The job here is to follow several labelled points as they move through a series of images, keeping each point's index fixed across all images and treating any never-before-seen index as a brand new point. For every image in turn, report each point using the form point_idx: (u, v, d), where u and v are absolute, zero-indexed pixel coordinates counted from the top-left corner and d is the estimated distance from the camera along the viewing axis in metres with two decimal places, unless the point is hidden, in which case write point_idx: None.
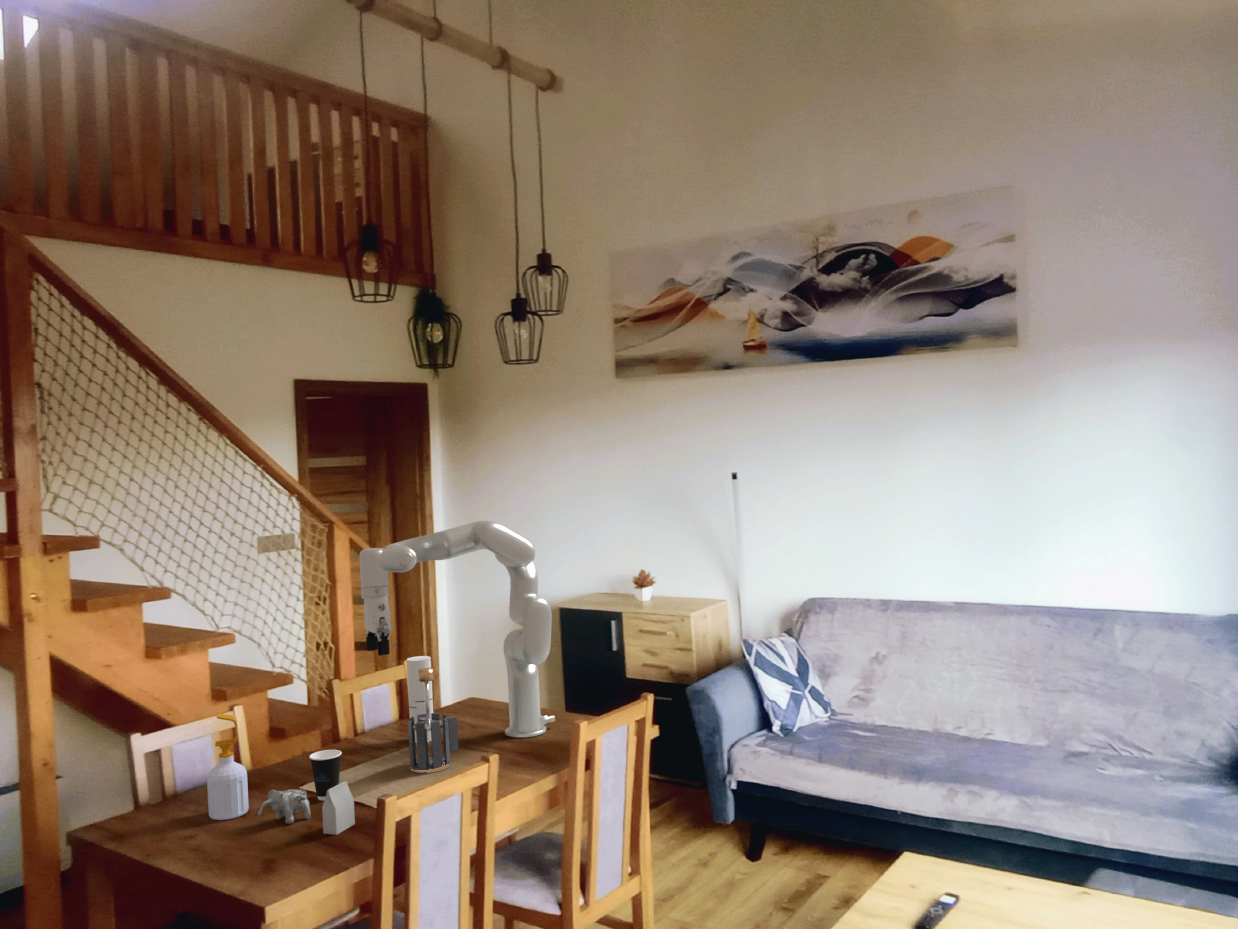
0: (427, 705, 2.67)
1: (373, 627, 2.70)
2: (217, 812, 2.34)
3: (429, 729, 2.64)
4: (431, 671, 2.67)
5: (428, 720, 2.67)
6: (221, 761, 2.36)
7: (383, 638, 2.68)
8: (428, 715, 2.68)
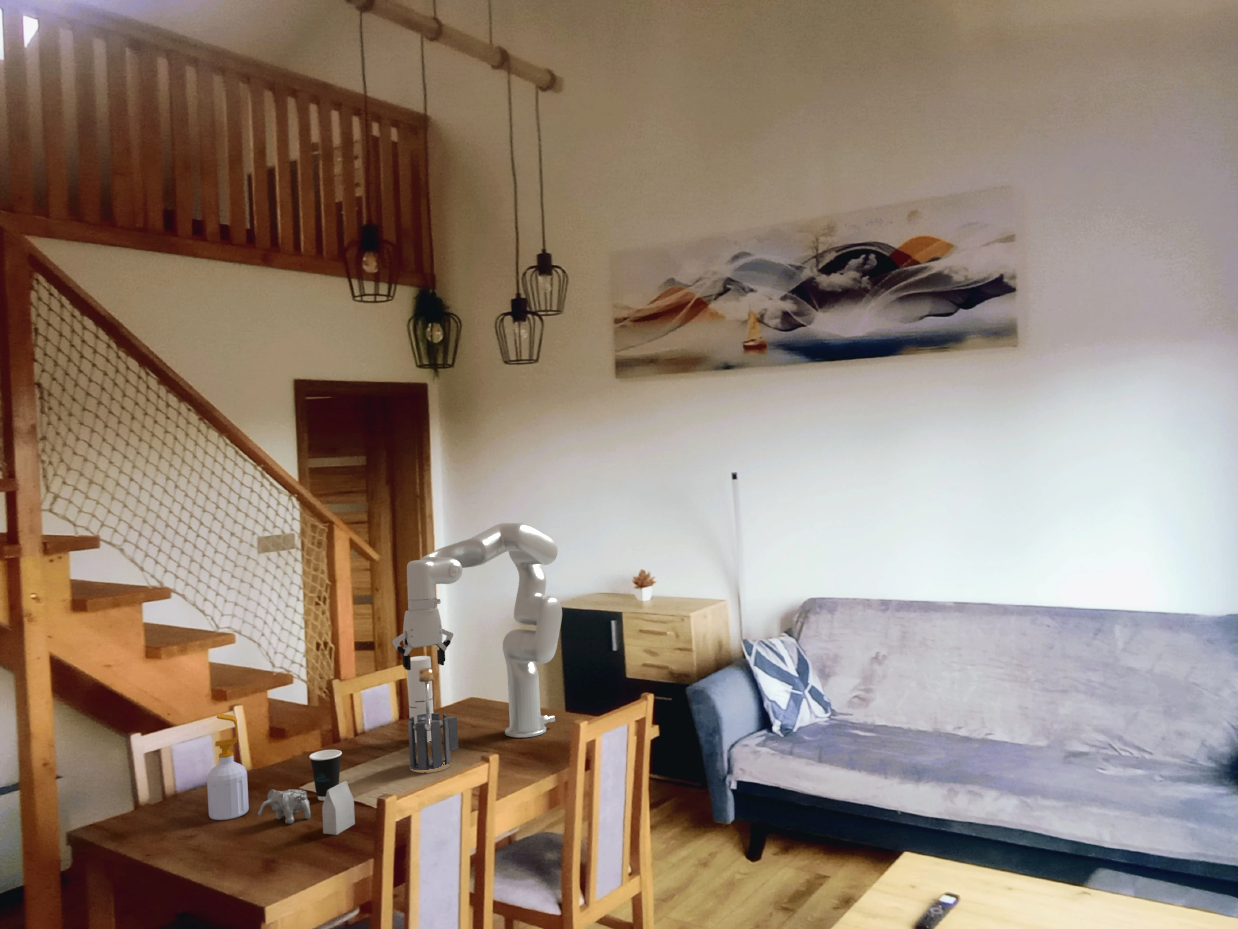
0: (427, 705, 2.67)
1: (438, 638, 2.68)
2: (217, 812, 2.34)
3: (429, 729, 2.64)
4: (431, 671, 2.67)
5: (428, 720, 2.67)
6: (221, 761, 2.36)
7: None
8: (428, 715, 2.68)
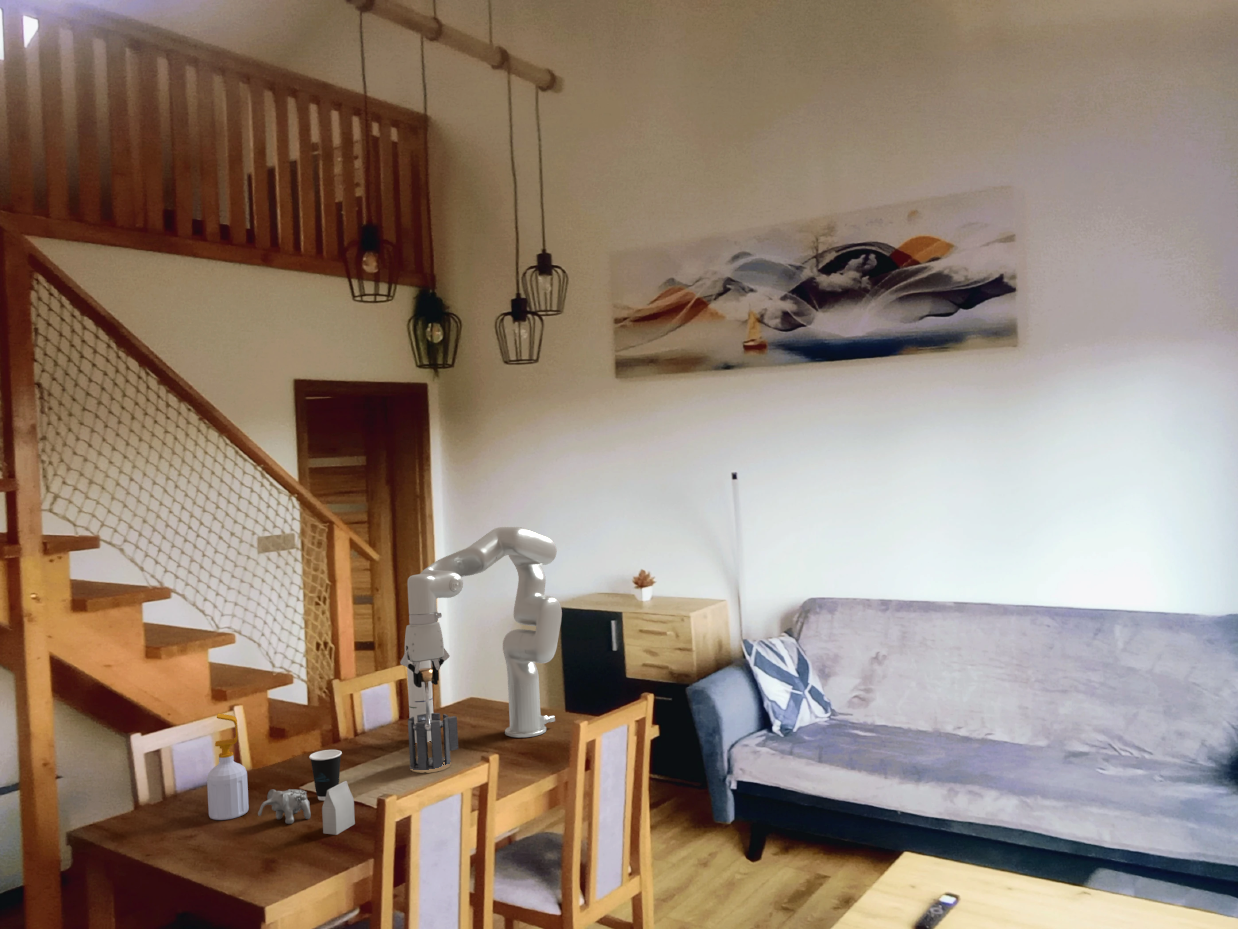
0: (427, 705, 2.67)
1: (440, 652, 2.68)
2: (217, 812, 2.34)
3: (429, 729, 2.64)
4: (431, 671, 2.67)
5: (428, 720, 2.67)
6: (221, 761, 2.36)
7: None
8: (428, 715, 2.68)
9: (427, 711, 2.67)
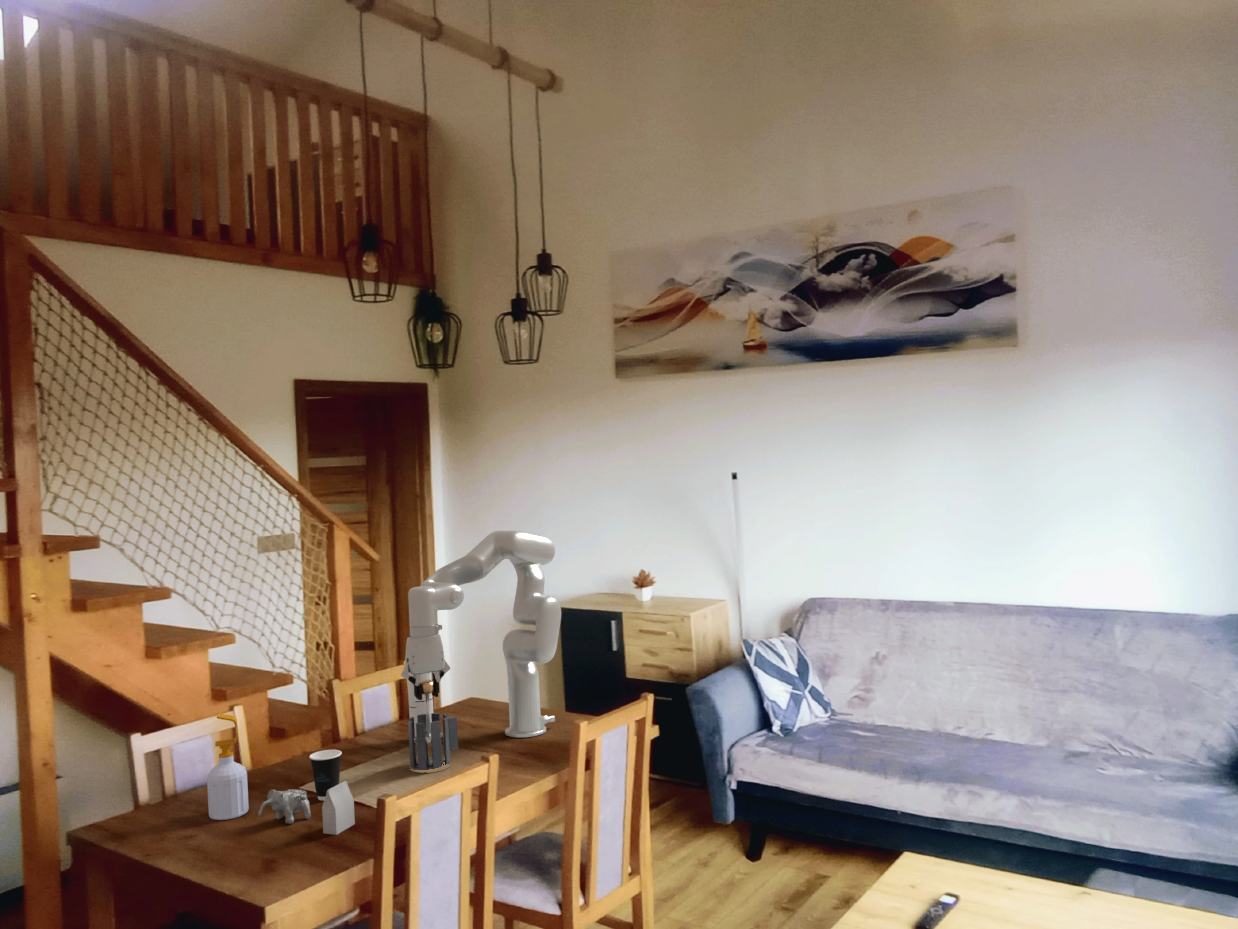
0: (427, 717, 2.67)
1: (440, 664, 2.68)
2: (217, 812, 2.34)
3: (430, 741, 2.64)
4: (432, 683, 2.67)
5: (429, 732, 2.67)
6: (221, 761, 2.36)
7: None
8: (429, 727, 2.68)
9: (428, 723, 2.67)
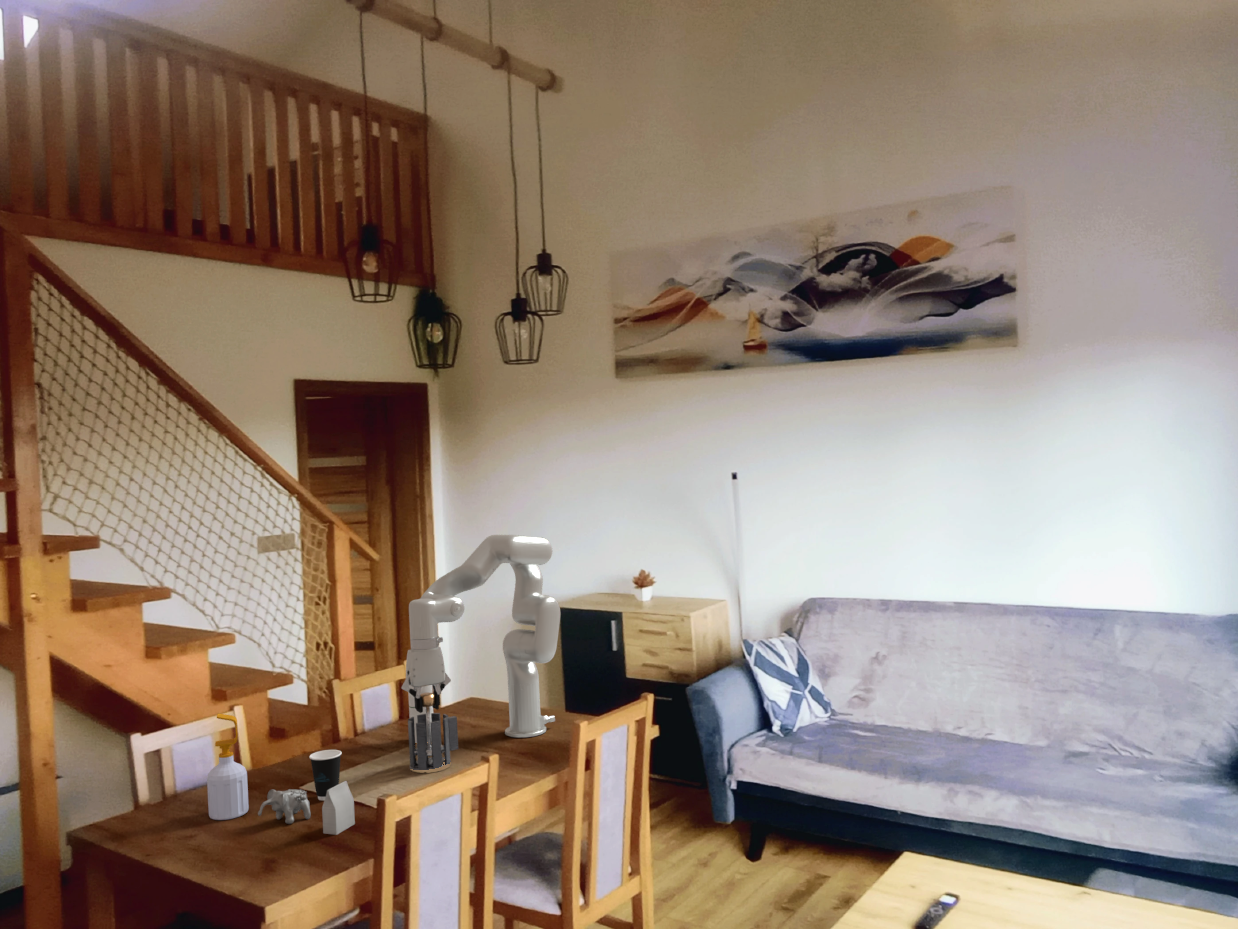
0: (428, 730, 2.67)
1: (441, 676, 2.68)
2: (217, 812, 2.34)
3: (430, 754, 2.64)
4: (432, 696, 2.67)
5: (429, 745, 2.67)
6: (221, 761, 2.36)
7: None
8: (429, 740, 2.68)
9: (428, 736, 2.67)
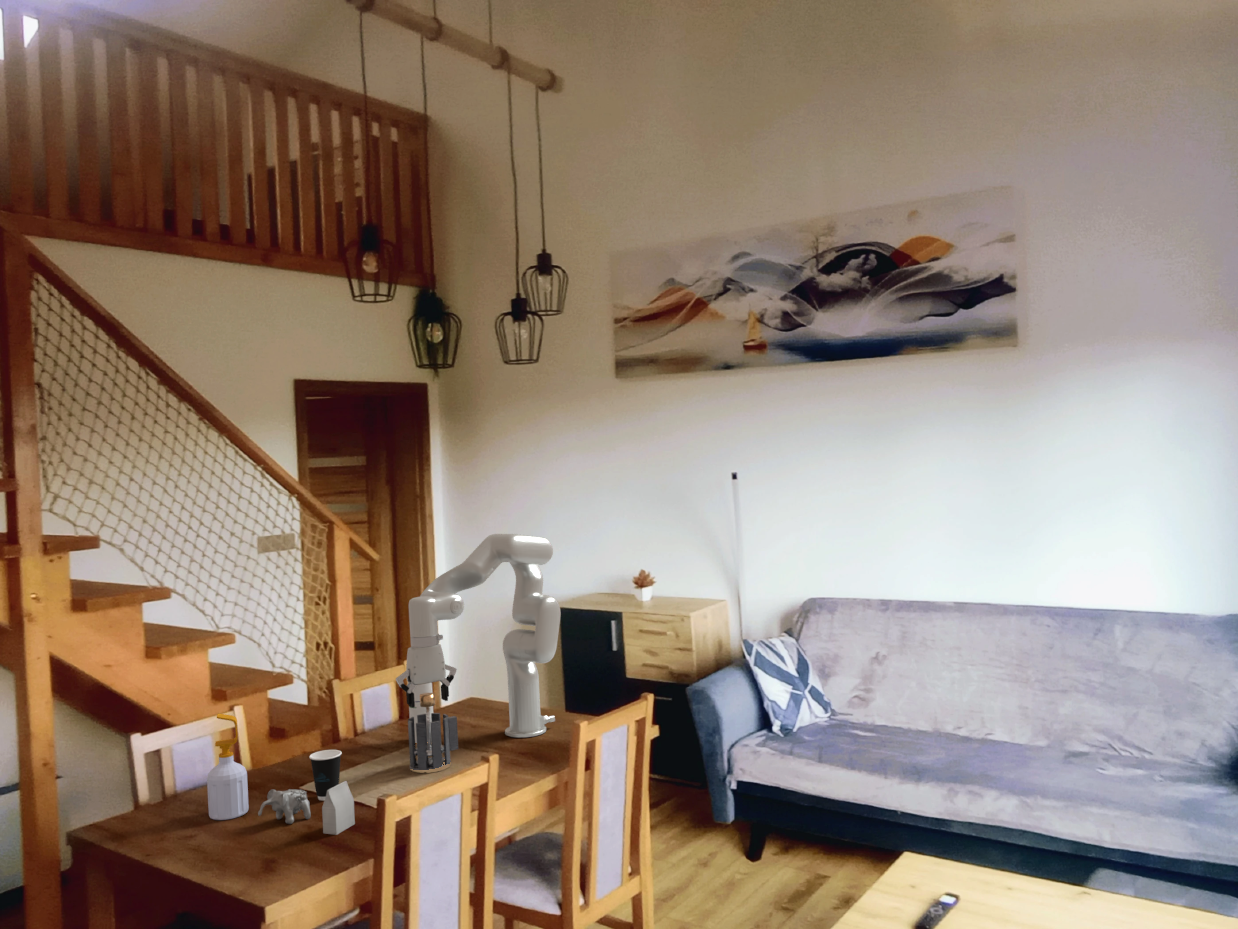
0: (428, 730, 2.67)
1: (442, 674, 2.68)
2: (217, 812, 2.34)
3: (430, 754, 2.64)
4: (432, 696, 2.67)
5: (429, 745, 2.67)
6: (221, 761, 2.36)
7: None
8: (429, 740, 2.68)
9: (428, 736, 2.67)
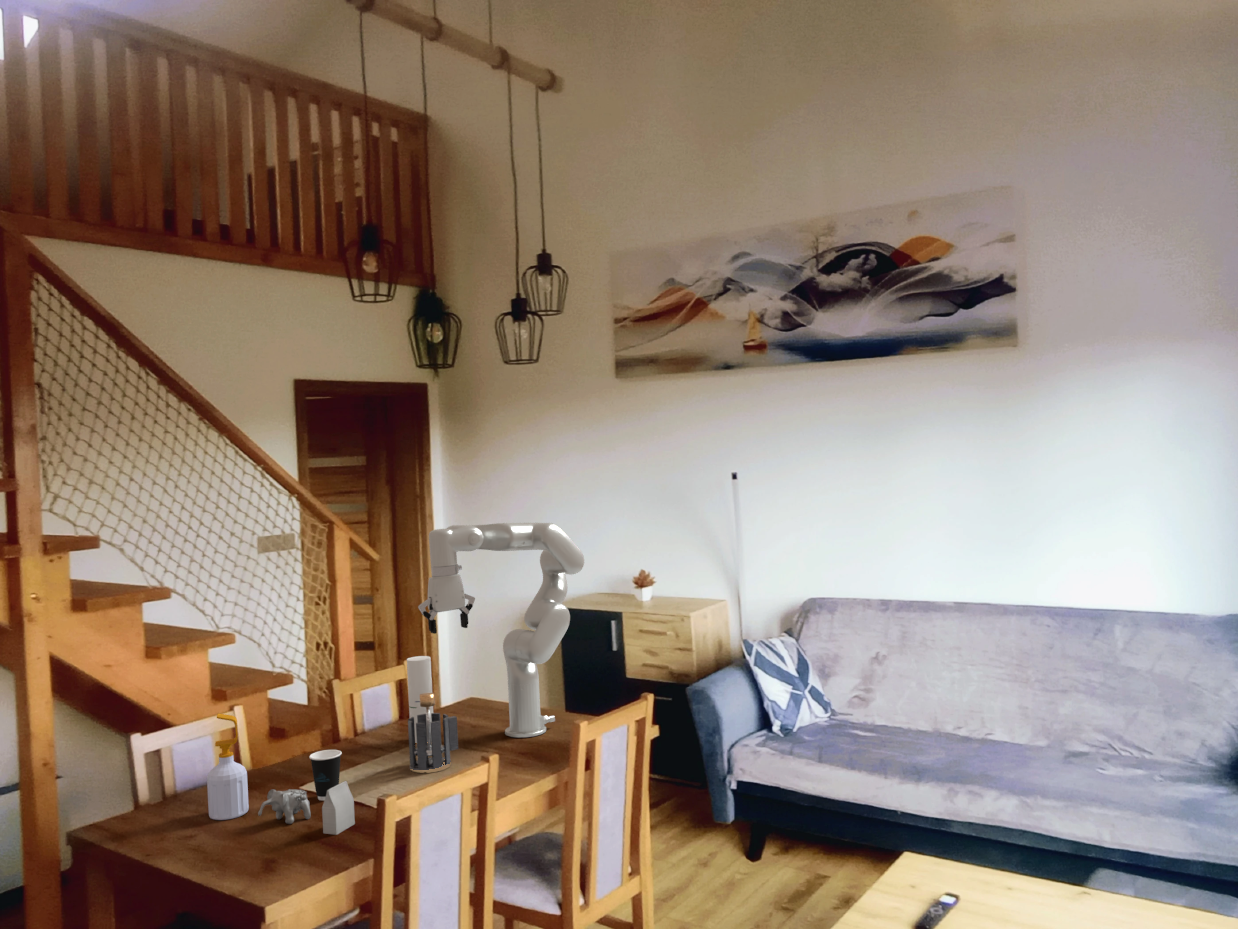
0: (428, 730, 2.67)
1: (461, 602, 2.81)
2: (217, 812, 2.34)
3: (430, 754, 2.64)
4: (432, 696, 2.67)
5: (429, 745, 2.67)
6: (221, 761, 2.36)
7: None
8: (429, 740, 2.68)
9: (428, 736, 2.67)
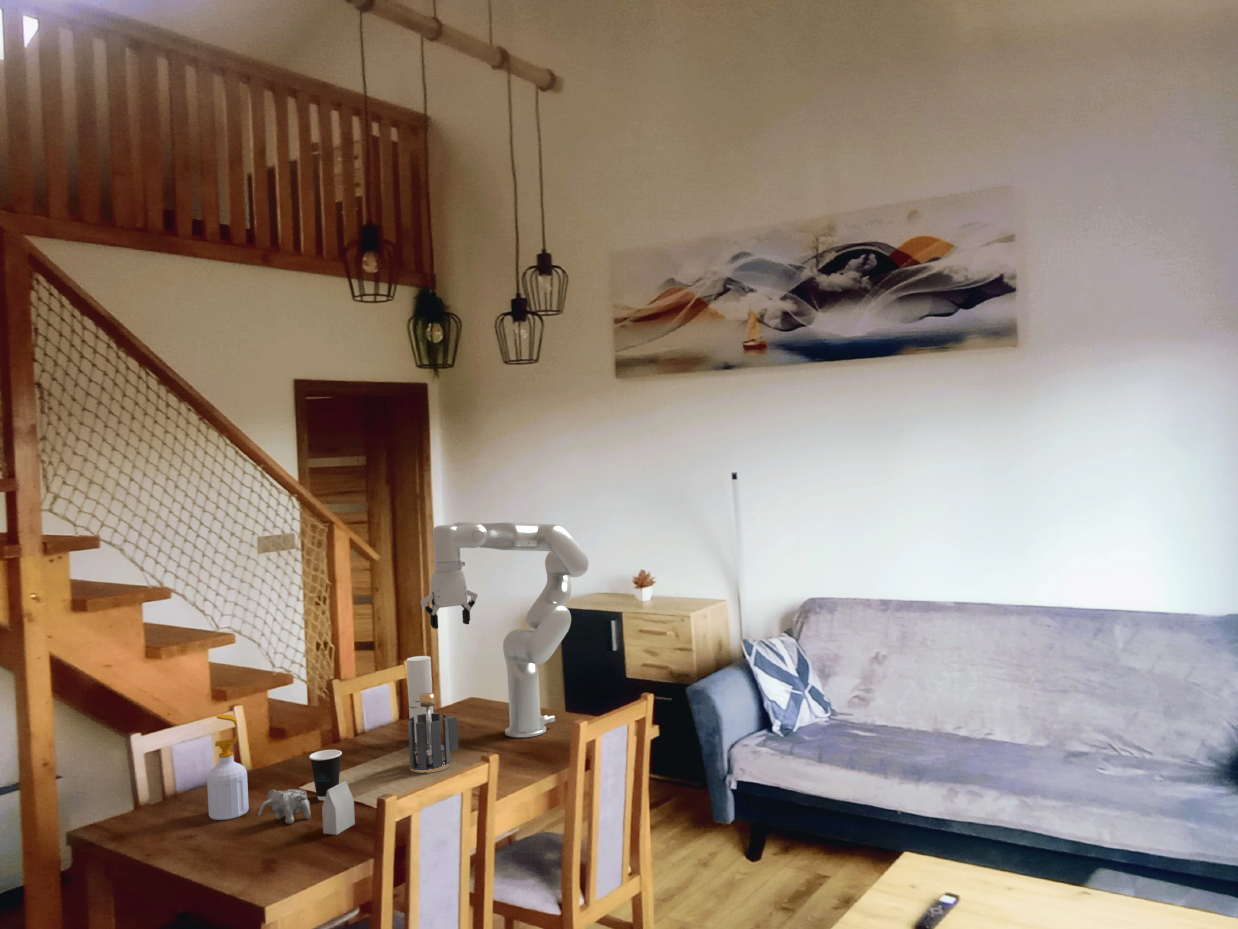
0: (428, 730, 2.67)
1: (463, 598, 2.83)
2: (217, 812, 2.34)
3: (430, 754, 2.64)
4: (432, 696, 2.67)
5: (429, 745, 2.67)
6: (221, 761, 2.36)
7: None
8: (429, 740, 2.68)
9: (428, 736, 2.67)
